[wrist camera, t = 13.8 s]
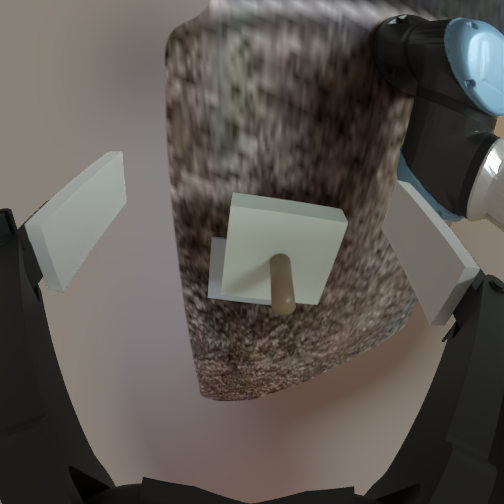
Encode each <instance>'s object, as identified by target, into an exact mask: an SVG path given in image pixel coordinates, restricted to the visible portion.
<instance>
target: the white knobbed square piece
mask: <svg viewBox="0 0 504 504" xmlns="http://www.w3.org/2000/svg"><path fill="white" fill-rule="evenodd" d="M347 225H348V221H347V219H346V217H345V215H344V213H343V211H342V209H338V208H333V207H327V206H321V205H315V204H309V203H303V202H296V201H290V200H283V199H277V198H270V197H263V196H255V195H248V194H241V193H233V196H232V201H231V207H230V216H229V224H228V233H227V242H226V251H225V260H224V269H223V279H222V288H221V294H222V295H230V296H238V297H246V298H255V299H264V300H271V309H272V311H273V312H274V313H275V314H278V315H288V314H290V313H292V312H293V311H294V310H295V308H296V304H295V303H303V304H314V305H317V304H318V302H319V300H320V297H321V295H322V292H323V290H324V287H325V285H326V282H327V279H328V277H329V274H330V272H331V269H332V267H333V264H334V261H335V259H336V256H337V253H338V250H339V248H340V245H341V242H342V239H343V237H344V234H345V231H346V228H347Z"/></svg>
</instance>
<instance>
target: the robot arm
mask: <svg viewBox="0 0 504 504" xmlns="http://www.w3.org/2000/svg"><path fill="white" fill-rule="evenodd" d="M373 55H374V60H375V63H376V65H377V68H378V69H379V71H380V73H381V74H382V76H383V77H384V78H385V80H386V81H387V82H388V83H389V84H390V85H392V86H393V87H394V88H396V89H397V90H399V91H401V92H404V93H407V94H410V95H413V96H415V98H414V103H413V107H412V112H411V116H410V120H409V124H408V128H407V132H406V136H405V139H404V143H403V145H402V146H401V148H400V158H399V163H398V167H397V176H398V180H397V181H396V184H395V187H394V190H393V194H392V197H391V200H390V203H389V206H388V209H387V212H386V215H385V218H384V221H383V224H382V226H381V229H382V231H383V232H384V234H385V236H386V238H387V239H388V241H389V243H390V245H391V247H392V249H393V250H394V252H395V254H396V256H397V258H398V260H399V262H400V264H401V266H402V268H403V270H404V272H405V274H406V276H407V278H408V280H409V282H410V284H411V286H412V288H413V290H414V292H415V294H416V296H417V298H418V300H419V302H420V305H421V307H422V309H423V311H424V313H425V315H426V318H427V320H428V322H429V325H430V326H432V325H445V324H446V322H447V321H448V320H449V318H450V317H451V315H452V314H453V315H454V317H455V319H456V322H455V323H454V325H453V326H452V328H451V329H450V330H449V332H448V333H447V334H446V336H445V337H444V338H443V340H442V342H444V341H445V340H446V339H448V340H447V343H446V346H445V349H444V352H443V354H442V357H441V361H440V363H439V365H438V368H437V371H436V373H435V376H434V378H433V381H432V383H431V386H430V388H429V391H428V393H427V395H426V398H425V400H424V402H423V404H422V406H421V409H420V411H419V413H418V415H417V417H416V419H415V421H414V423H413V425H412V427H411V429H410V431H409V433H408V435H407V437H406V439H405V441H404V442H403V444H402V446H401V448H400V450H399V452H398V453H397V455H396V457H395V458H394V460H393V462H392V464H391V465H390V467H389V469H388V470H387V472H386V473H385V474H384V475H383V476H382V477H381V478H380V479H379V480H378V481H377V482H376V483H375V484H374V485H373V486H372V487H371V488H370V489H369V490H368V492H367V493H366V494H365V495H364V496H362V495H357V494H354V486H353V487H346V488H337V489H328V490H316V491H305V492H301V493H298V494H294V495H290V496H286V497H282V498H278V499H273V500H269V501H264V502H259V503H252V504H504V283H503V282H502V281H501V280H499V279H498V278H497V277H495V276H493V275H485V274H484V273H483V271H482V270H481V268H480V267H479V266H478V264H477V263H476V261H475V260H474V259H473V258H472V257H471V255H470V253H469V252H468V251H467V249H466V248H465V247H464V245H463V244H462V243H461V242H460V241H459V239H458V238H457V237H456V236H455V234H454V233H453V232H452V231H451V229H450V228H449V227H448V226H447V225H446V223H445V222H444V221H443V220H442V219H444V220H447V221H451V222H457V221H460V220H461V219H462V218H464V217H465V218H466V219H468V220H469V221H471V222H473V221H477V220H481V219H487V220H489V221H490V222H491V223H493V224H494V225H495V226H497V227H498V228H499V229H501V230H502V231H503V232H504V140H503V139H501V138H500V137H497V136H496V135H494V130H493V129H494V128H495V125H496V121H497V118H498V116H502V115H504V36H503V35H502V34H501V33H500V32H499V31H498V30H497V29H495V28H494V27H492V26H491V25H489V24H487V23H485V22H482V21H479V20H471V19H466V18H455V19H449V20H437V21H428V20H426V19H424V18H422V17H419V16H415V15H399V16H394V17H391V18H389V19H387V20H386V21H384V22H383V23H382V24H381V25H380V26H379V28H378V29H377V31H376V33H375V36H374V40H373ZM126 203H127V198H126V189H125V179H124V168H123V157H122V152H107V153H106V154H105V155H104V156H102V157H101V158H99V159H98V160H97V161H96V162H94V163H93V164H92V165H90V166H89V167H88V168H87V169H85V170H84V171H83V172H82V173H80V174H79V175H78V176H77V177H75V178H74V179H73V180H72V181H71V182H70V183H68V184H67V185H66V186H65V187H64V188H63V189H62V190H60V191H59V192H58V193H57V194H56V195H55V196H54V197H53V198H51V199H50V200H48V201H47V202H45V203H44V204H43V205H42V206H41V207H40V208H39V210H37V211H36V212H35V213H34V215H32V216H31V217H30V218H29V219H28V220H27V221H26V222H25V223H24V224H23V225H22V226H21V227H20V228H19V229H18V230H17V227H16V224H15V220H14V217H13V214H12V211H11V209H8V208H5V209H0V500H1V503H2V504H250V503H244V502H241V501H237V500H233V499H230V498H227V497H224V496H221V495H217V494H214V493H212V492H209V491H206V490H203V489H200V488H197V487H195V486H188V485H182V484H176V483H169V482H165V481H160V480H155V479H150V478H146V477H143V481H142V484H129V485H122V486H118V487H116V486H115V484H114V482H113V481H112V479H111V478H110V476H109V474H108V473H107V471H106V470H105V468H104V467H103V466H102V465H101V463H100V462H99V461H98V459H97V458H96V456H95V455H94V453H93V451H92V449H91V447H90V445H89V443H88V441H87V439H86V437H85V434H84V432H83V430H82V427H81V425H80V423H79V420H78V418H77V415H76V413H75V410H74V408H73V405H72V403H71V400H70V397H69V395H68V392H67V389H66V386H65V383H64V380H63V377H62V374H61V371H60V367H59V364H58V361H57V357H56V354H55V350H54V347H53V343H52V340H51V335H50V331H49V327H48V323H47V318H46V314H45V309H44V304H43V299H42V294H41V290H40V288H39V285H38V283H39V282H40V280H41V279H42V277H43V278H44V281H45V283H46V286H47V288H48V289H49V290H54V291H59V292H64V291H65V290H66V288H67V287H68V285H69V283H70V282H71V280H72V279H73V277H74V275H75V274H76V272H77V271H78V269H79V268H80V266H81V265H82V263H83V262H84V261H85V259H86V258H87V256H88V254H89V253H90V252H91V250H92V249H93V247H94V246H95V245H96V243H97V242H98V240H99V239H100V238H101V236H102V235H103V233H104V232H105V231H106V229H107V228H108V227H109V225H110V224H111V222H112V221H113V220H114V219H115V217H116V216H117V215H118V213H119V212H120V211H121V210H122V208H123V207H124V206H125V204H126ZM441 218H442V219H441Z"/></svg>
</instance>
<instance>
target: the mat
mask: <svg viewBox="0 0 504 504" xmlns="http://www.w3.org/2000/svg"><path fill="white" fill-rule="evenodd" d="M226 242H227V238H222V237H215V236H212V242H211V255H210V269H209V285H208V298H215V299H223V300H231V301H239V302H247V303H256V304H264V305H271V300H264V299H255V298H246V297H238V296H230V295H222V294H221V288H222V279H223V269H224V260H225V251H226Z"/></svg>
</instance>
